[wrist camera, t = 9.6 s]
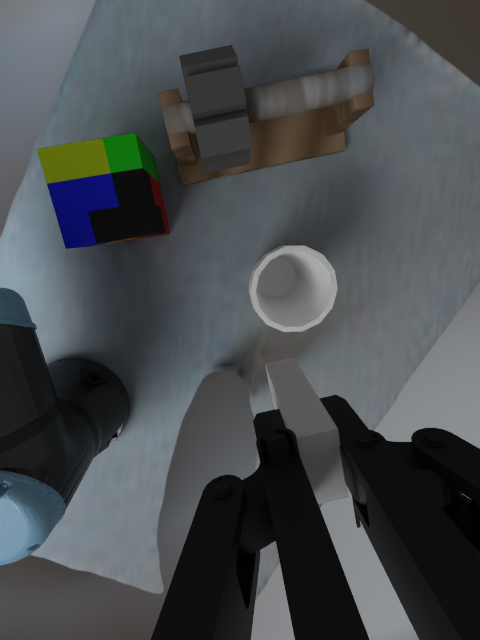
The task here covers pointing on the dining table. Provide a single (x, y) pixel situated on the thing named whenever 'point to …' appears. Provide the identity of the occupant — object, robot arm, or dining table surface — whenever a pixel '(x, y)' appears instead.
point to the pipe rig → (281, 118)
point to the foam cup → (292, 288)
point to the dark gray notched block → (218, 107)
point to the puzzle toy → (104, 191)
